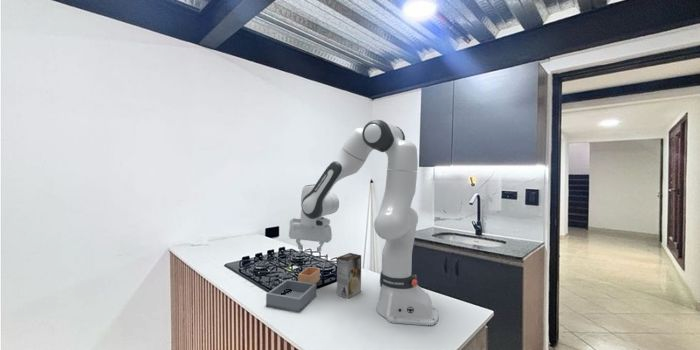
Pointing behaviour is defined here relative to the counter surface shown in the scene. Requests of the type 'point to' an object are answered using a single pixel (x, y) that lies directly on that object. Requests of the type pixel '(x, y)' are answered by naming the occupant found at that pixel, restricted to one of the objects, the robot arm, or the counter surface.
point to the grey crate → (291, 296)
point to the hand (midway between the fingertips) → (309, 250)
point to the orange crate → (309, 275)
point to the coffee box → (348, 275)
